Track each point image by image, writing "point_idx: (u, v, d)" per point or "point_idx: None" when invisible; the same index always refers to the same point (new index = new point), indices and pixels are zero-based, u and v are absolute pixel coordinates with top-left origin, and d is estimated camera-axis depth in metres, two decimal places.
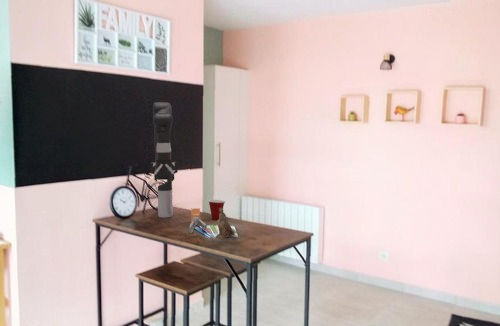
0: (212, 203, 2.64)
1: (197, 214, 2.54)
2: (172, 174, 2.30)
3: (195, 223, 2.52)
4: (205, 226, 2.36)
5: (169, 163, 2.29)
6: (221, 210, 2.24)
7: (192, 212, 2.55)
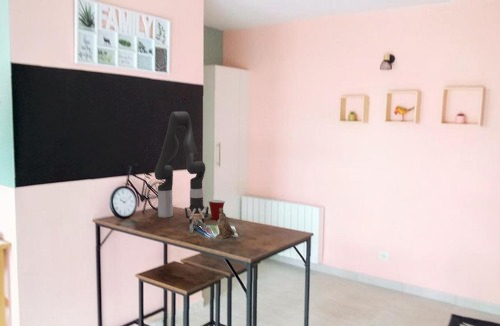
0: (212, 203, 2.64)
1: (197, 214, 2.54)
2: (202, 218, 2.44)
3: (195, 223, 2.52)
4: (205, 226, 2.36)
5: (201, 207, 2.44)
6: (221, 210, 2.24)
7: None
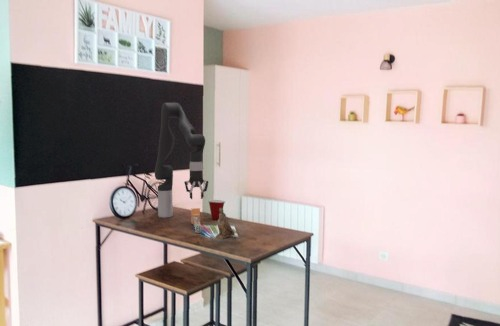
0: (212, 203, 2.64)
1: (197, 214, 2.54)
2: (201, 192, 2.43)
3: None
4: (199, 226, 2.35)
5: (201, 180, 2.42)
6: (221, 210, 2.24)
7: (192, 212, 2.55)
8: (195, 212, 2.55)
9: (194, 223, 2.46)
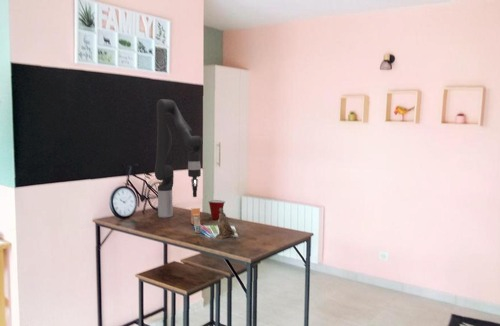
0: (212, 203, 2.64)
1: (197, 214, 2.54)
2: None
3: None
4: (199, 226, 2.35)
5: (193, 179, 2.56)
6: (221, 210, 2.24)
7: (192, 212, 2.55)
8: (195, 212, 2.55)
9: (194, 223, 2.46)
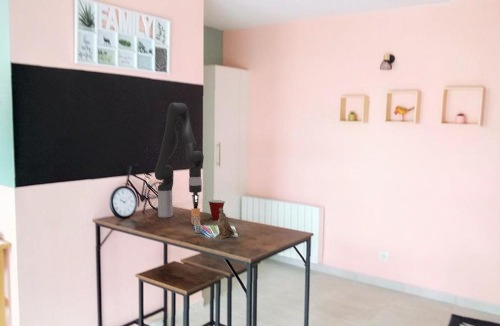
0: (212, 203, 2.64)
1: (197, 214, 2.54)
2: None
3: None
4: (199, 226, 2.35)
5: (193, 195, 2.53)
6: (221, 210, 2.24)
7: (192, 212, 2.54)
8: (195, 212, 2.54)
9: (194, 223, 2.46)
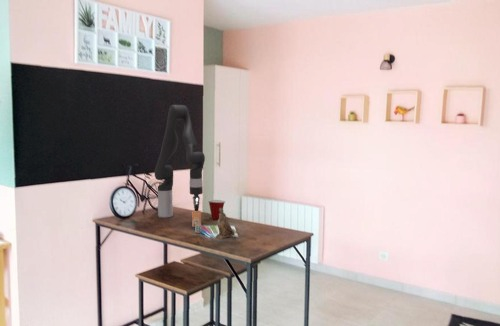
0: (212, 203, 2.64)
1: (198, 217, 2.47)
2: (194, 208, 2.50)
3: None
4: (199, 226, 2.35)
5: (194, 197, 2.47)
6: (221, 210, 2.24)
7: (193, 215, 2.47)
8: (196, 215, 2.48)
9: (194, 223, 2.46)
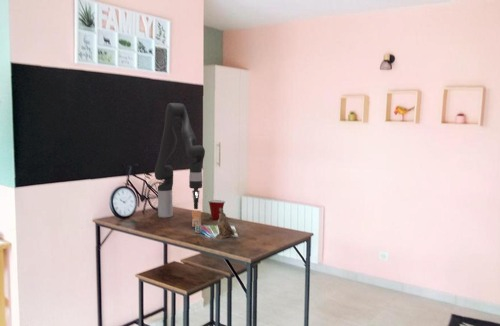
0: (212, 203, 2.64)
1: (198, 217, 2.47)
2: (194, 203, 2.49)
3: None
4: (199, 226, 2.35)
5: (194, 191, 2.46)
6: (221, 210, 2.24)
7: (193, 215, 2.48)
8: (196, 215, 2.48)
9: (194, 223, 2.46)
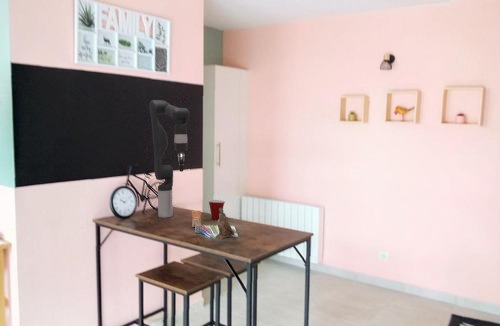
0: (212, 203, 2.64)
1: (198, 217, 2.47)
2: (179, 165, 2.51)
3: None
4: (199, 226, 2.35)
5: (179, 153, 2.48)
6: (221, 210, 2.24)
7: (193, 215, 2.48)
8: (196, 215, 2.48)
9: (194, 223, 2.46)
